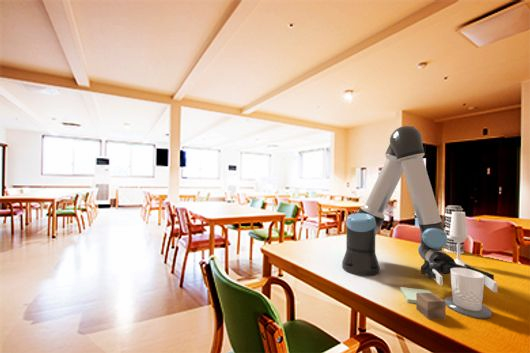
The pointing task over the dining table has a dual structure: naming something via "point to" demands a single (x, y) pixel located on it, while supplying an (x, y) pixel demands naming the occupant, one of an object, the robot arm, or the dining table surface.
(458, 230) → the champagne flute
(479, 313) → the slate coaster
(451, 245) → the decorative candle
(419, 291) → the green mat
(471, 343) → the dining table surface
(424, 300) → the walnut block
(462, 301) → the white cup
